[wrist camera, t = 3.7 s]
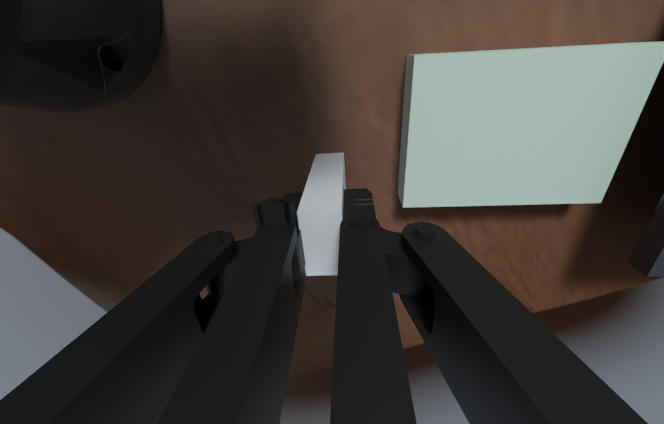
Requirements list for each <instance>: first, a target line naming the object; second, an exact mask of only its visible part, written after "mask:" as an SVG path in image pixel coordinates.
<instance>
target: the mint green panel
mask: <svg viewBox="0 0 664 424" xmlns="http://www.w3.org/2000/svg"><path fill="white" fill-rule="evenodd" d="M663 62H664V41H661V42H632V43H614V44H596V45H577V46H559V47H540V48H522V49H504V50H485V51H467V52H448V53H430V54H411V55H406V70H405V85H404V101H403V116H402V131H401V147H400V162H399V178H398V196H399V199H400V201H401V204H402V207H403V208H410V207H453V206H496V205H540V204H583V203H601V202H602V200H603V198H604V195H605V193H606V191H607V189H608V186H609V184H610V182H611V180H612V177H613V175H614V173H615V170H616V168H617V166H618V164H619V161H620V159H621V157H622V155H623V152H624V150H625V148H626V146H627V143H628V141H629V139H630V137H631V134H632V132H633V130H634V128H635V125H636V123H637V121H638V118H639V116H640V114H641V112H642V109H643V107H644V105H645V103H646V100H647V98H648V96H649V94H650V91H651V89H652V87H653V85H654V82H655V80H656V78H657V76H658V73H659V71H660V69H661V66H662V64H663Z"/></svg>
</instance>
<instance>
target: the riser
mask: <svg viewBox="0 0 664 424" xmlns="http://www.w3.org/2000/svg"><path fill="white" fill-rule="evenodd" d="M628 263H629V264H630V265H632V266H633V267H634V268H636V269H637V270H638V271H640V272H641V273H642V274H644V275H645V276H646V277H660V276H664V193H663V195H662V197H661V199H660V201H659V203H658V205H657V207H656V209H655V211H654V213H653V215H652V217H651V218H650V220H649V222H648V224H647V226H646V228H645V230H644V232H643V234H642V236H641V238H640V240H639V242H638V244H637V246H636V248H635V249H634V251H633V253H632V255H631V257H630V259H629V261H628Z"/></svg>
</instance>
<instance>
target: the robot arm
mask: <svg viewBox="0 0 664 424" xmlns="http://www.w3.org/2000/svg"><path fill="white" fill-rule="evenodd" d="M160 32H161V5H160V0H0V104H1V105H8V106H15V107H21V108H28V109H35V110H41V111H49V112H75V111H82V110H87V109H91V108H96V107H101V106H105V105H109V104H112V103H115V102H117V101H119V100H121V99H123V98H125V97H126V96H128V95H129V94H131V93H132V92H133V91H134V90H135V89H136V88H137V87H138V86H139V85H140V84H141V83H142V82H143V80H144V79H145V78H146V76H147V74H148V73H149V71H150V69H151V67H152V65H153V62H154V59H155V57H156V53H157V50H158V45H159V40H160ZM253 209H254V214H255V218H256V222H257V227H258V229H257V231H256V233H255V235H254V237H251V238H248V239H244V240H239V241H235V239H234V236H233V235H232V234H231V233H230V232H226V231H215V232H210V233H208V234H206V235H204V236H202V237H200V238H199V239H197V240H196V241H194V242H193V243H192V244H191V245H190V246H188V247H187V248H186V249H185V250H183V251H182V252H181V253H180V254H179V255H177V256H176V257H175V258H174V259H172V260H171V261H170V262H169V263H168V264H166V265H165V266H164V267H163V268H161V269H160V270H159V271H158V272H157V273H155V274H154V275H153V276H152V277H150V278H149V279H148V280H147V281H146V282H144V283H143V284H142V285H141V286H139V287H138V288H137V289H136V290H135V291H133V292H132V293H131V294H130V295H128V296H127V297H126V298H125V299H124V300H122V301H121V302H120V303H119V304H117V305H116V306H115V307H114V308H113V309H111V310H110V311H109V312H108V313H106V314H105V315H104V316H103V317H102V318H100V319H99V320H98V321H97V322H96V323H94V324H93V325H92V326H91V327H89V328H88V329H87V330H86V331H84V332H83V333H82V334H81V335H80V336H78V337H77V338H76V339H75V340H73V341H72V342H71V343H70V344H69V345H67V346H66V347H65V348H64V349H62V350H61V351H60V352H59V353H58V354H56V355H55V356H54V357H53V358H51V359H50V360H49V361H48V362H47V363H45V364H44V365H43V366H42V367H40V368H39V369H38V370H37V371H36V372H34V373H33V374H32V375H31V376H29V377H28V378H27V379H26V380H25V381H23V382H22V383H21V384H20V385H18V386H17V387H16V388H15V389H14V390H12V391H11V392H10V393H9V394H7V395H6V396H5V397H4V398H3V399H1V400H0V424H279V422H280V416H281V411H282V406H283V400H284V395H285V389H286V383H287V378H288V373H289V367H290V362H291V357H292V351H293V346H294V340H295V335H296V329H297V324H298V318H299V313H300V308H301V302H302V297H303V291H304V286H305V285H304V277H303V272H304V267H305V271H306V276H326V275H338V277H337V298H336V318H335V338H334V358H333V379H332V399H331V420H330V424H416V418H415V413H414V407H413V402H412V397H411V392H410V386H409V381H408V375H407V370H406V364H405V359H404V353H403V348H402V343H401V337H400V332H399V326H398V321H397V316H396V310H395V305H394V299H393V294H392V292H394V293H398V294H399V295H400V298H401V301H402V303H403V305H404V306H405V308H406V310H407V312H408V314H409V315H410V317H411V319H412V321H413V323H414V324H415V326H416V328H417V330H418V332H419V333H420V335H421V337H422V339H423V341H424V342H425V344H426V346H427V348H428V349H429V351H430V353H431V354H432V357H433V359H434V360H435V362H436V364H437V366H438V368H439V369H440V371H441V373H442V375H443V377H444V378H445V380H446V382H447V384H448V385H449V387H450V389H451V391H452V393H453V395H454V396H455V398H456V400H457V402H458V404H459V405H460V407H461V409H462V411H463V413H464V414H465V416H466V418H467V420H468V421H469V423H470V424H648V423H647V422H646V421H644V419H642V418H641V417H640V416H639V415H638V414H637V413H636V412H635V411H634V410H633V409H632V408H631V407H630V406H629V405H628V404H627V403H625V401H624V400H622V399H621V398H620V397H619V396H618V395H617V394H616V393H615V392H614V391H613V390H612V389H611V388H610V387H609V386H608V385H607V384H606V383H605V382H604V381H603V380H602V379H600V378H599V377H598V376H597V375H596V374H595V373H594V372H593V371H592V370H591V369H590V368H589V367H588V366H587V365H586V364H585V363H584V362H583V361H582V360H581V359H579V358H578V357H577V356H576V355H575V354H574V353H573V352H572V351H571V350H570V349H569V348H568V347H567V346H566V345H565V344H564V343H563V342H562V341H561V340H560V339H558V338H557V337H556V336H555V335H554V334H553V333H552V332H551V331H550V330H549V329H548V328H547V327H546V326H545V325H544V324H543V323H542V322H541V321H540V320H539V319H538V318H536V317H535V316H534V315H533V314H532V313H531V312H530V311H529V310H528V309H527V308H526V307H525V306H524V305H523V304H522V303H521V302H520V301H519V300H518V299H517V298H515V297H514V296H513V295H512V294H511V293H510V292H509V291H508V290H507V289H506V288H505V287H504V286H503V285H502V284H501V283H500V282H499V281H498V280H497V279H496V278H494V277H493V276H492V275H491V274H490V273H489V272H488V271H487V270H486V269H485V268H484V267H483V266H482V265H481V264H480V263H479V262H478V261H477V260H476V259H475V258H473V257H472V256H471V255H470V254H469V253H468V252H467V251H466V250H465V249H464V248H463V247H462V246H461V245H460V244H459V243H458V242H457V241H456V240H455V239H454V238H452V237H451V236H450V235H449V234H448V233H447V232H446V231H445V230H444V229H443V228H441V227H440V226H438V225H435V224H432V223H428V222H416V223H412V224H408V225H407V226H406V227H404V229H403V231H402V233H398V232H392V231H389V230H386V229H384V228H382V227H380V224H379V222H378V220H377V219H376V215H375V209H374V204H373V198H372V193H371V192H370V191H369V190H367V189H366V188H364V189H346V182H345V164H344V152H343V153H326V154H316V155H315V158H314V161H313V164H312V167H311V170H310V173H309V176H308V179H307V182H306V186H305V189H304V192H300V193H288V194H286V195H285V196H284V197H282V198H272V199H267V200H264V201H261V202H259V203H257V204H256V205H255V206H254V207H253ZM205 286H206V289H207V291H208V295H207V296H206V297H205V298H204V299H201V297H200V294H199V293H200V292H201V291H202V289H203V288H204V287H205Z"/></svg>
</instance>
